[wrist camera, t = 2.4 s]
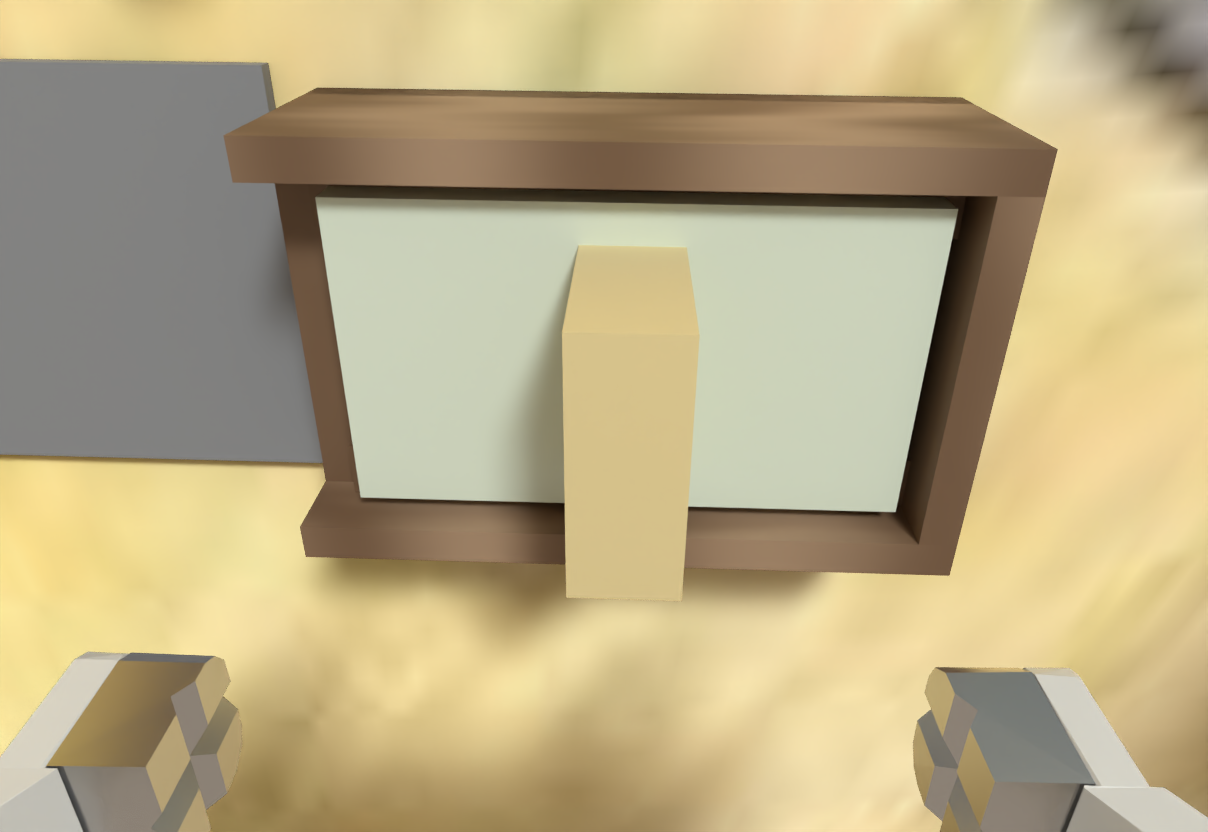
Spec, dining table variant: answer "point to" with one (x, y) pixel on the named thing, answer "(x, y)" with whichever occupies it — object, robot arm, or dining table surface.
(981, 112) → the box
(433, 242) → the lid
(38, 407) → the mat
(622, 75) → the dining table surface
